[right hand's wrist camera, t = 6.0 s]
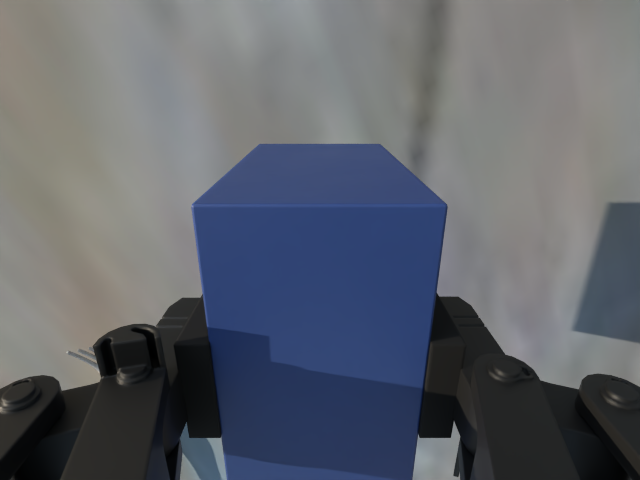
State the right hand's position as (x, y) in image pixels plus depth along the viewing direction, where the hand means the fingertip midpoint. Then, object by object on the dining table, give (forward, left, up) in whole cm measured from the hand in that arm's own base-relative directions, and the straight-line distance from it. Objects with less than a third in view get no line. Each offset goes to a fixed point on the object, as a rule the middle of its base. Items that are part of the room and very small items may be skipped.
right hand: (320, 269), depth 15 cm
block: (0, 0, -2) cm, 2 cm away
